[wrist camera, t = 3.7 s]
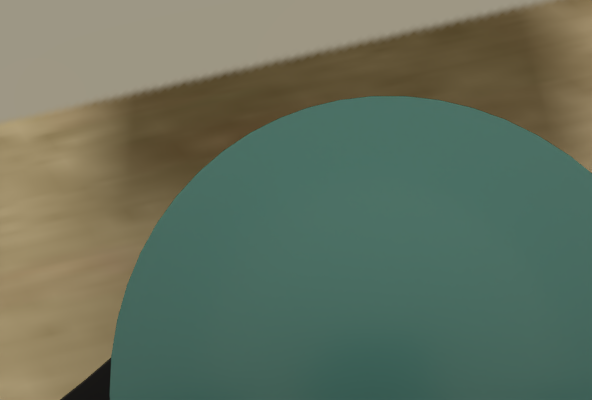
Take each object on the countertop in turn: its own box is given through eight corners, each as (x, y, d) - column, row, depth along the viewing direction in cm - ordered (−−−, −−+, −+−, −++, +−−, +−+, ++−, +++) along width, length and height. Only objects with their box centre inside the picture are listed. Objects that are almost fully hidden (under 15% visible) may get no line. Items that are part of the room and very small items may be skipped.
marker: (430, 321, 15) (856, 363, 2) (357, 402, 15) (419, 945, 2) (351, 247, 16) (367, 9, 3) (280, 321, 16) (8, 356, 3)
